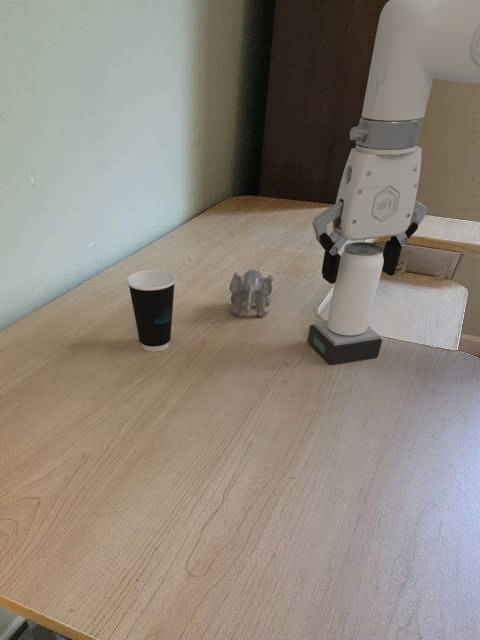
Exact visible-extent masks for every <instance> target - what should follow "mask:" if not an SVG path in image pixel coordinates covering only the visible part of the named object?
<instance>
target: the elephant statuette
mask: <svg viewBox="0 0 480 640" xmlns="http://www.w3.org/2000/svg"><path fill="white" fill-rule="evenodd" d="M273 282H274V277H273V275H272V274H269V275H268V276H264V277H263V274H262V272H260V270H259V269H258V270H257V269H248V270H247V271H246V272H244V274H243V276H242V275H240V274H239V273H238V272H235V273H234V274H233V275H232V279H231V280H230V282H229V291H230V293H231V295H230V302H231V303H232V305H230V306H229V312H230V313H231V314H233V315H235V316H237V315H240V313H241V309H242V306H243V305H244V304H245V307H244V313H245V314H246V315H248V314H250V311H251V304H253V303H254V305H255V307H256V314H257V316H258V317H260V318H264V317H265V316H267V315H268V314H269V308H268V307H269V306H270V305H271V302H272V297H271V294H272V291H273Z"/></svg>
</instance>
